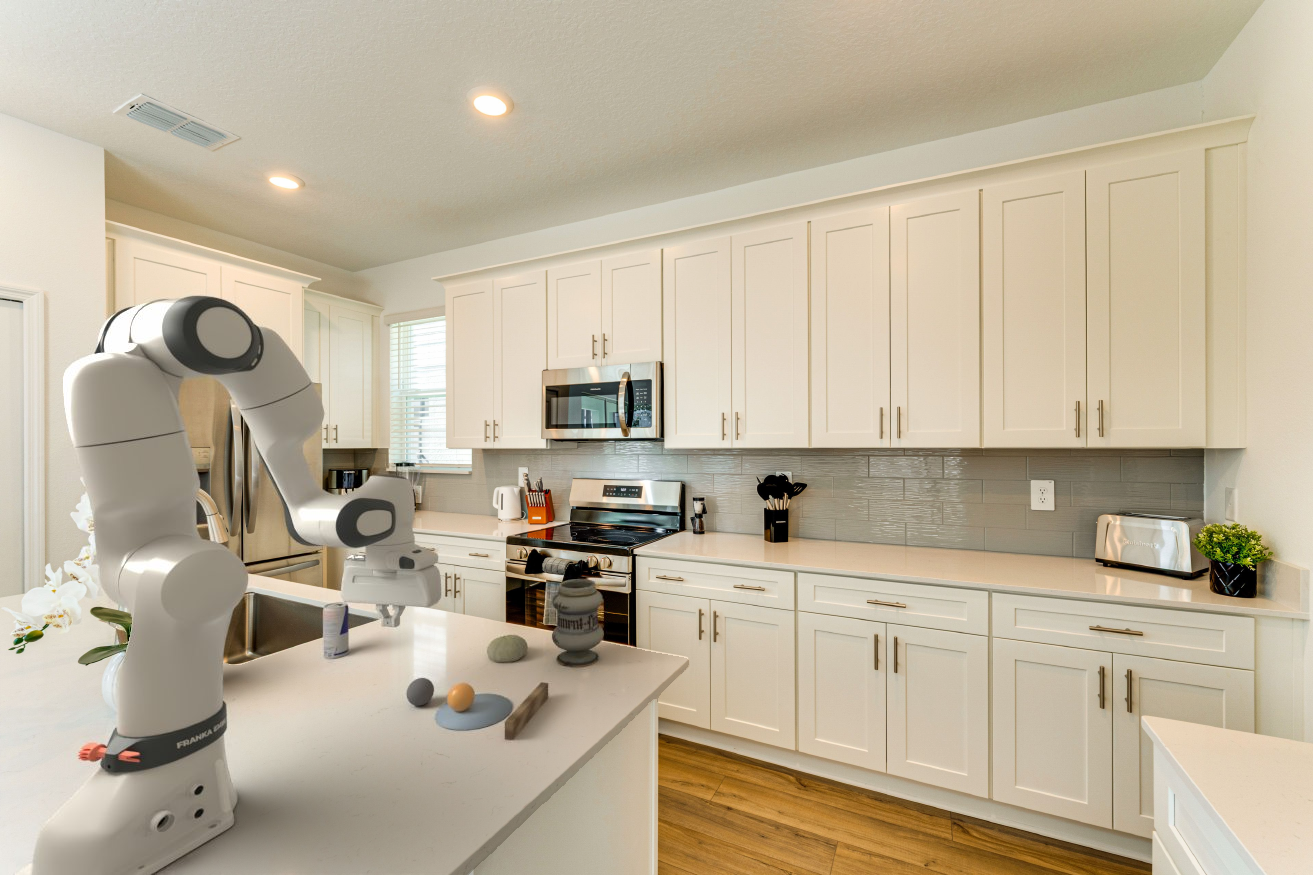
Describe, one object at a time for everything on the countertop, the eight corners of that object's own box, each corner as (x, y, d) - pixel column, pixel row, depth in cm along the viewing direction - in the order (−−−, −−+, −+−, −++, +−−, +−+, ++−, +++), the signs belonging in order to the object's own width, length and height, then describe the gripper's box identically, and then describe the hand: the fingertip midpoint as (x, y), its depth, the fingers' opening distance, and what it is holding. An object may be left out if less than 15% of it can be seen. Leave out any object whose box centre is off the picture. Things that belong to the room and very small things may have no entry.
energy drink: (353, 651, 138) (353, 602, 138) (338, 659, 133) (338, 608, 133) (332, 650, 138) (332, 601, 138) (317, 658, 133) (317, 608, 133)
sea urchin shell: (480, 646, 136) (504, 619, 139) (504, 665, 139) (527, 638, 141) (486, 659, 128) (511, 631, 130) (511, 679, 130) (535, 651, 133)
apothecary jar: (543, 666, 129) (543, 587, 128) (564, 647, 140) (564, 575, 140) (593, 671, 126) (593, 591, 126) (610, 651, 137) (610, 578, 137)
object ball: (440, 712, 106) (464, 719, 105) (443, 687, 106) (467, 693, 105) (455, 700, 111) (478, 706, 110) (458, 675, 111) (481, 681, 110)
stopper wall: (512, 739, 97) (512, 722, 97) (504, 738, 98) (504, 721, 98) (548, 697, 113) (548, 682, 113) (541, 696, 113) (541, 682, 113)
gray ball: (403, 682, 108) (399, 706, 108) (427, 688, 108) (423, 713, 108) (417, 670, 113) (413, 694, 113) (440, 676, 112) (436, 700, 113)
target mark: (490, 733, 99) (490, 732, 99) (419, 725, 102) (419, 724, 102) (524, 697, 113) (524, 696, 113) (460, 691, 116) (460, 690, 116)
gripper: (332, 557, 110) (333, 627, 110) (426, 561, 106) (427, 635, 106) (355, 550, 116) (356, 617, 116) (445, 554, 112) (445, 624, 112)
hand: (390, 626), depth 111 cm, fingers closed
